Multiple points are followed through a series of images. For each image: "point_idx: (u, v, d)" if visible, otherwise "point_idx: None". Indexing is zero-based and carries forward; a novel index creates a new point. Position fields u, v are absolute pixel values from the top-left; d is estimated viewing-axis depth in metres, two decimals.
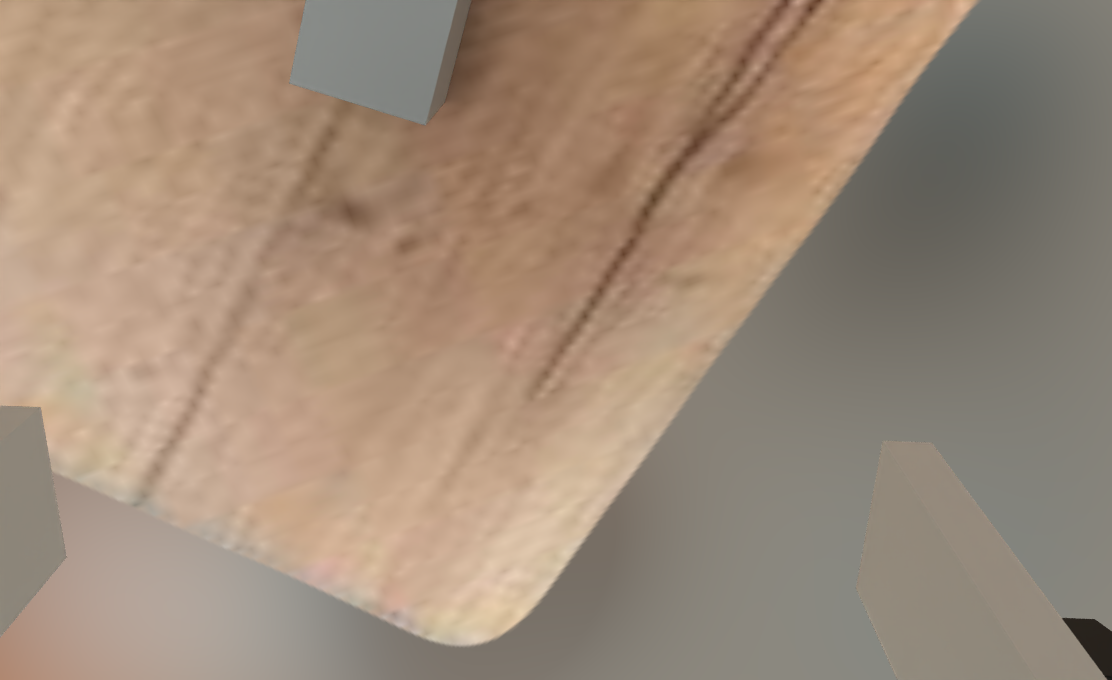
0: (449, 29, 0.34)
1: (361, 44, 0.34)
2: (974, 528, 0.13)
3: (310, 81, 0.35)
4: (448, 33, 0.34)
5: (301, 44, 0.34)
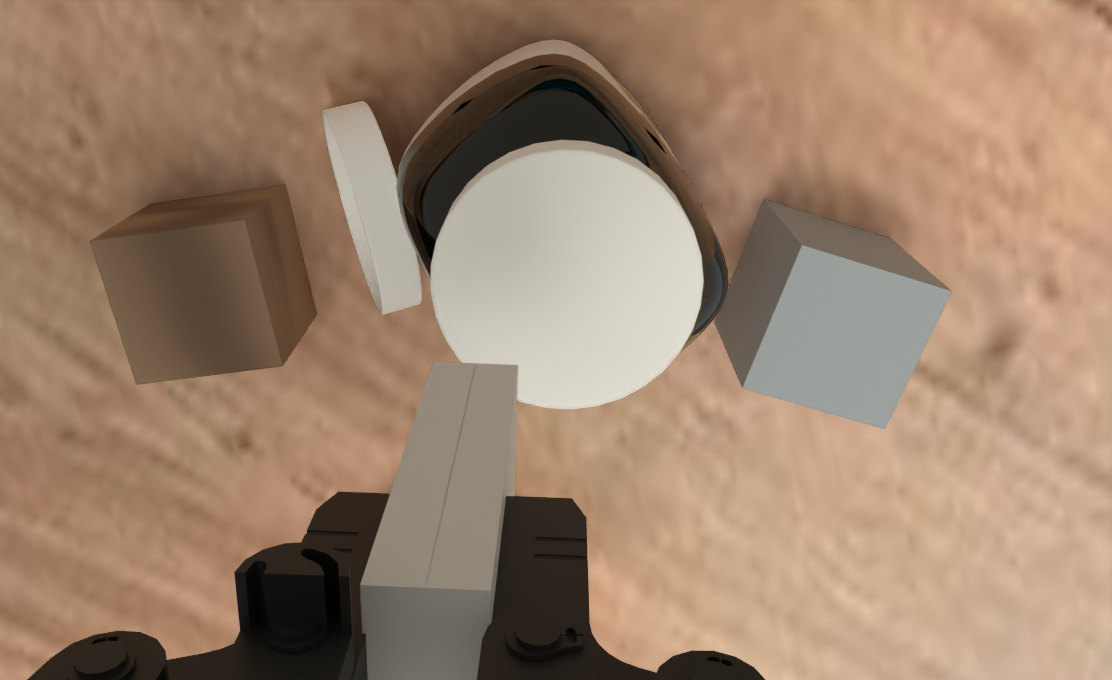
0: (848, 259, 0.30)
1: (853, 353, 0.31)
2: (492, 426, 0.15)
3: (885, 408, 0.32)
4: (852, 261, 0.30)
5: (846, 413, 0.32)
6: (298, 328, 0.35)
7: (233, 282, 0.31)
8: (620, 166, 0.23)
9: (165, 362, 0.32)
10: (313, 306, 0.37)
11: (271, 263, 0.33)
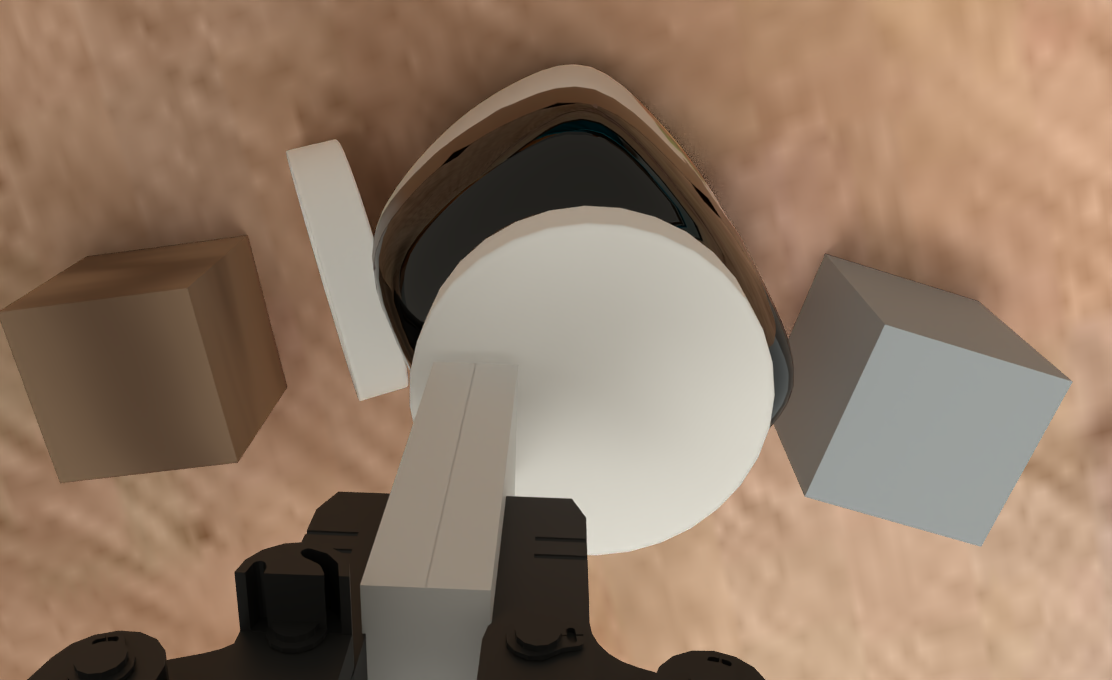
0: (942, 342, 0.24)
1: (944, 456, 0.25)
2: (492, 426, 0.15)
3: (982, 521, 0.26)
4: (948, 344, 0.24)
5: (933, 527, 0.26)
6: (261, 409, 0.29)
7: (175, 362, 0.25)
8: (665, 246, 0.17)
9: (94, 457, 0.26)
10: (282, 378, 0.31)
11: (225, 336, 0.27)
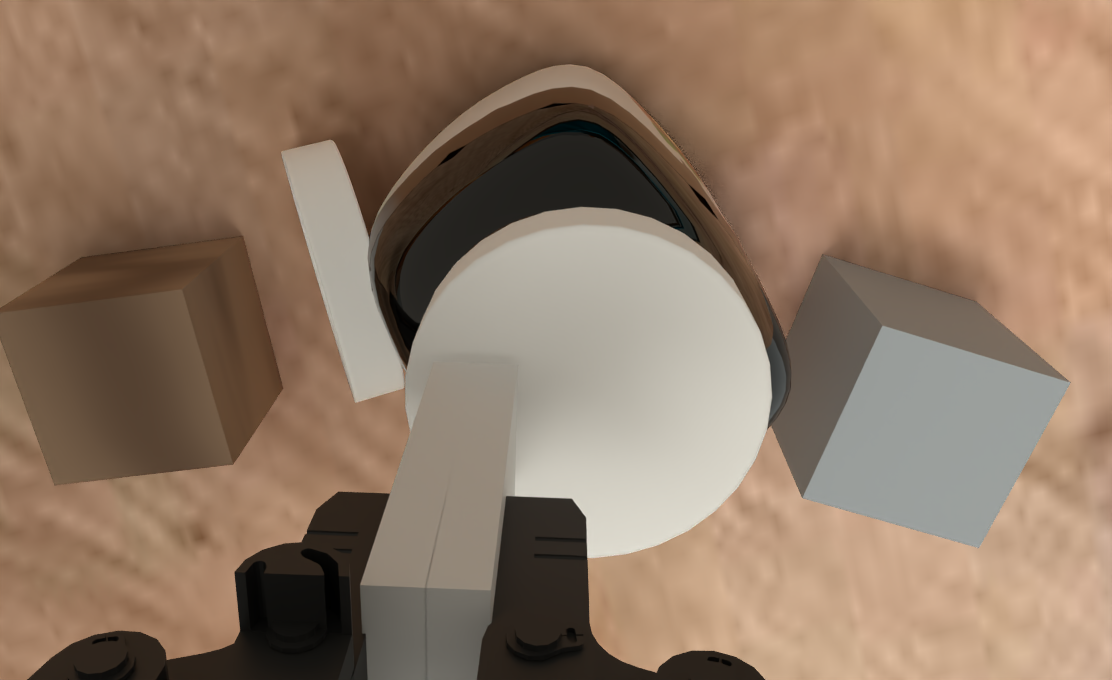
0: (940, 343, 0.24)
1: (942, 457, 0.25)
2: (492, 426, 0.15)
3: (981, 522, 0.25)
4: (945, 345, 0.24)
5: (931, 529, 0.26)
6: (257, 411, 0.28)
7: (170, 364, 0.25)
8: (662, 247, 0.17)
9: (89, 459, 0.26)
10: (278, 379, 0.31)
11: (220, 337, 0.26)
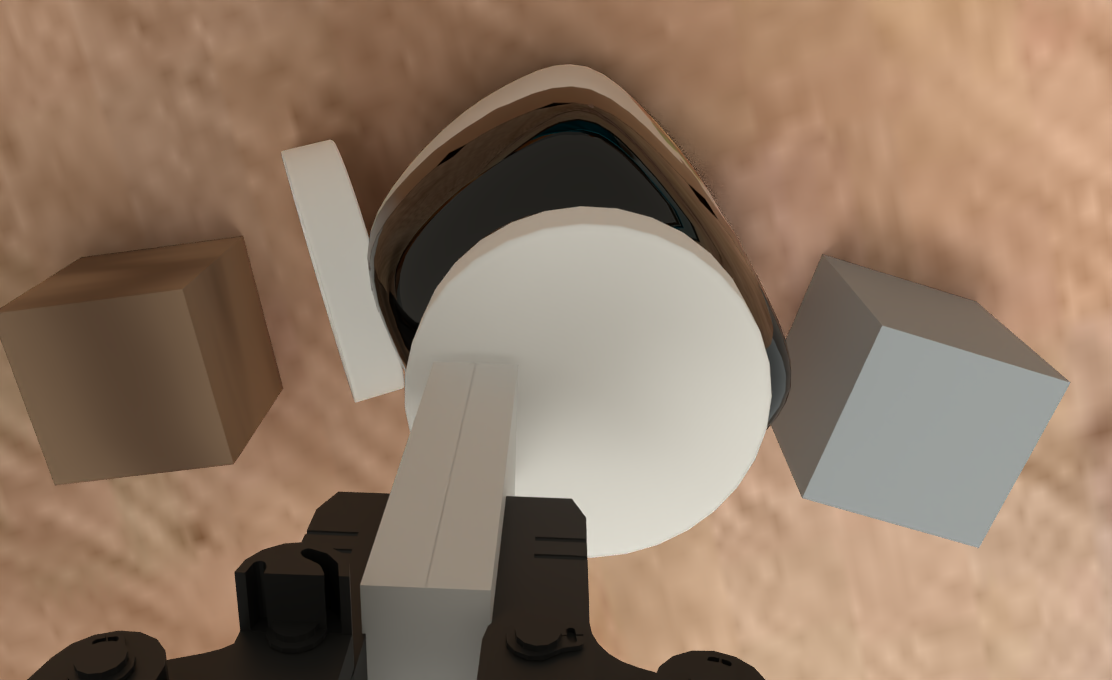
0: (940, 343, 0.24)
1: (942, 457, 0.25)
2: (492, 426, 0.15)
3: (980, 522, 0.25)
4: (945, 345, 0.24)
5: (931, 529, 0.26)
6: (258, 411, 0.28)
7: (171, 363, 0.25)
8: (662, 247, 0.17)
9: (89, 459, 0.26)
10: (278, 379, 0.31)
11: (220, 337, 0.26)
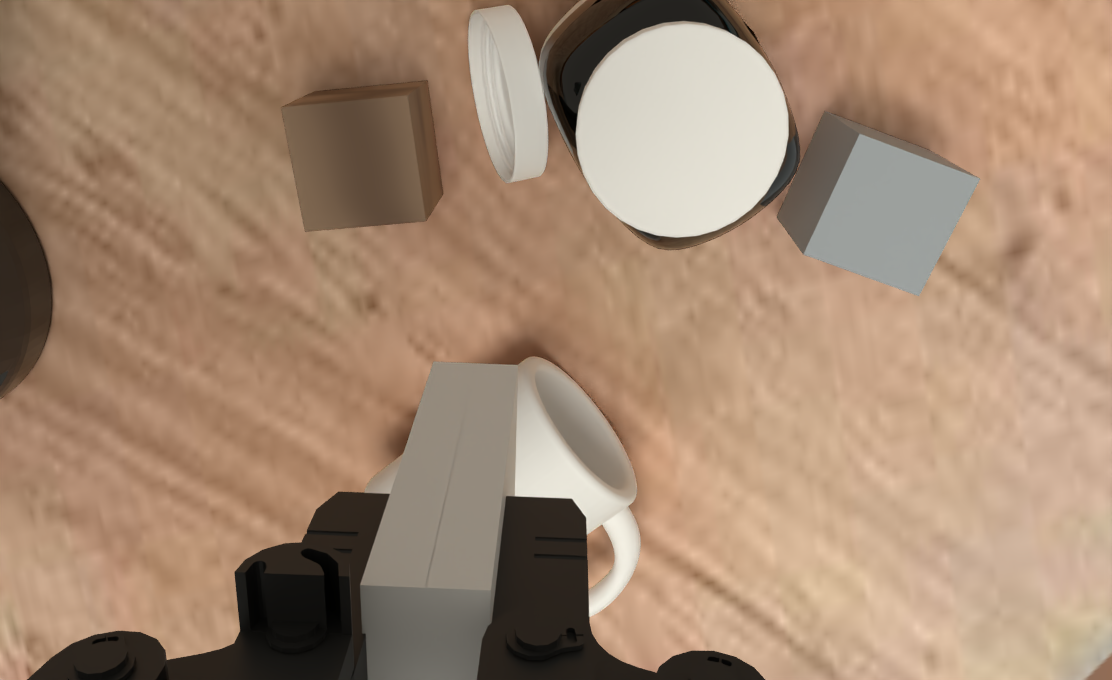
0: (896, 148, 0.37)
1: (896, 229, 0.38)
2: (492, 426, 0.15)
3: (920, 277, 0.39)
4: (900, 149, 0.37)
5: (887, 280, 0.39)
6: (434, 198, 0.42)
7: (393, 147, 0.38)
8: (731, 38, 0.30)
9: (330, 213, 0.40)
10: (441, 186, 0.44)
11: (420, 137, 0.40)
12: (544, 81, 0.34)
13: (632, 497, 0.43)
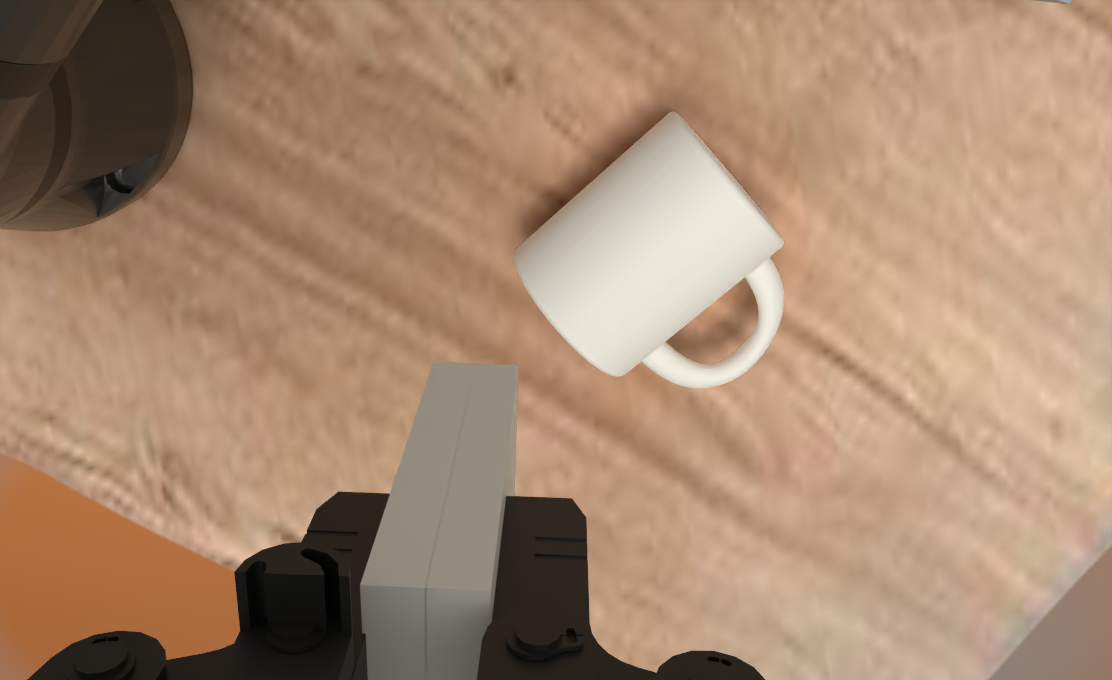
0: None
1: None
2: (492, 426, 0.15)
3: None
4: None
5: None
6: None
7: None
8: None
9: None
10: None
11: None
12: None
13: (783, 239, 0.44)
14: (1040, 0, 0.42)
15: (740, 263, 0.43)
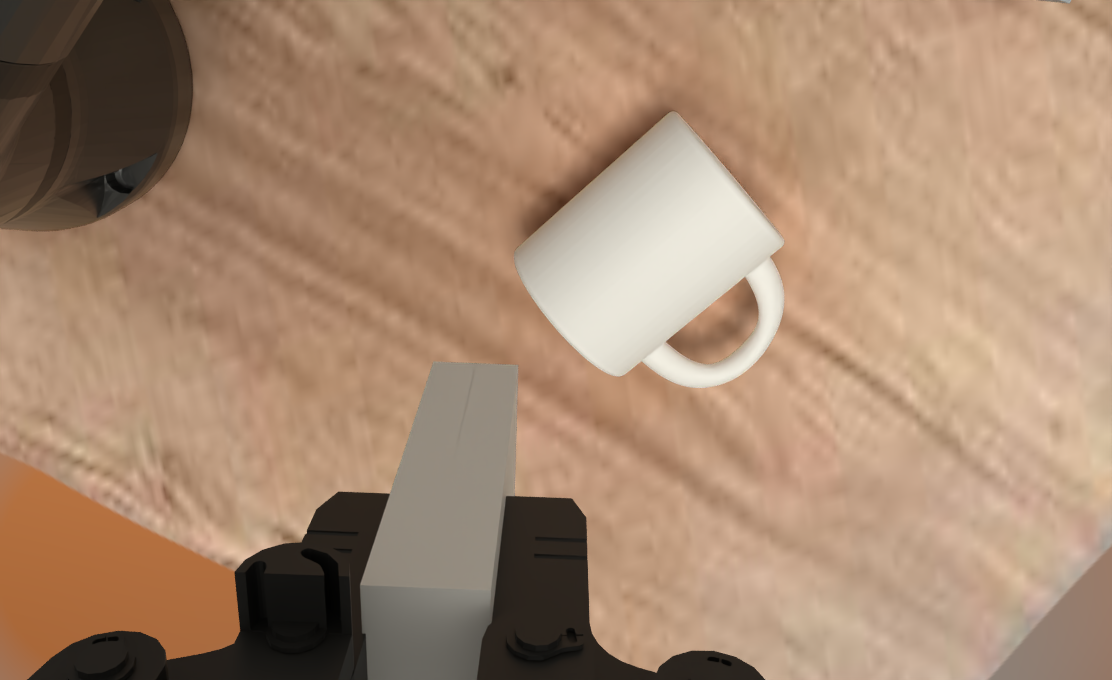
0: None
1: None
2: (492, 426, 0.15)
3: None
4: None
5: None
6: None
7: None
8: None
9: None
10: None
11: None
12: None
13: (783, 239, 0.44)
14: None
15: (740, 263, 0.43)
